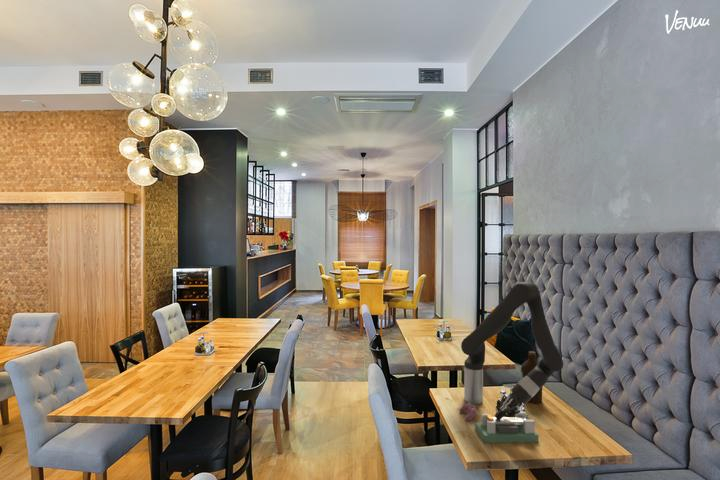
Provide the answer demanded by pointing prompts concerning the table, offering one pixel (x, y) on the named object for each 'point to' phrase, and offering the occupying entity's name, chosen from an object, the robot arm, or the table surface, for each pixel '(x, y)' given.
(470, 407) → the pink rounded lump
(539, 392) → the olive oil
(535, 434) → the clip base
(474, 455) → the table surface
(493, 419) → the retention strap
